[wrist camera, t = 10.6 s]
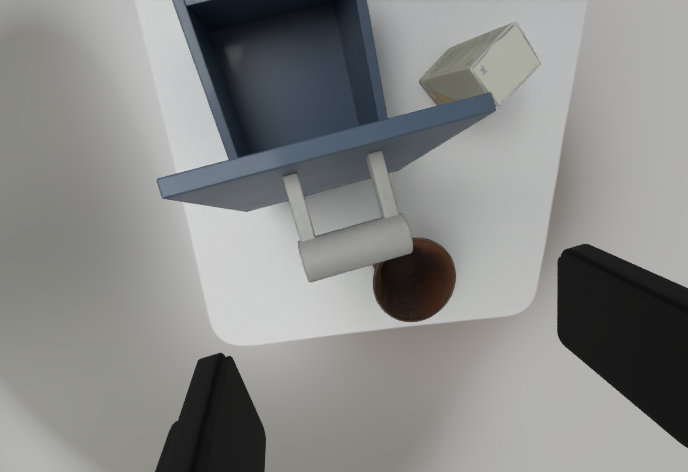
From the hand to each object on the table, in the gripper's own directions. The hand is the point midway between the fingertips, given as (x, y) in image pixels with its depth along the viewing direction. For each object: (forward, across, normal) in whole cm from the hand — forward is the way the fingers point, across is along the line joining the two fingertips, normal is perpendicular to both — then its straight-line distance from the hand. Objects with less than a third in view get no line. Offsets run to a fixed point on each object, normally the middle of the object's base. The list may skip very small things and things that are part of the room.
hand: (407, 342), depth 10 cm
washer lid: (+14, 0, -3) cm, 14 cm away
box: (+32, -17, -6) cm, 37 cm away
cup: (+32, -7, +12) cm, 35 cm away
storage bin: (+32, 0, -8) cm, 33 cm away
